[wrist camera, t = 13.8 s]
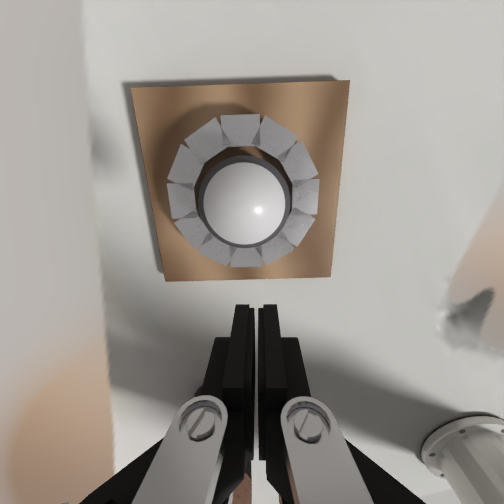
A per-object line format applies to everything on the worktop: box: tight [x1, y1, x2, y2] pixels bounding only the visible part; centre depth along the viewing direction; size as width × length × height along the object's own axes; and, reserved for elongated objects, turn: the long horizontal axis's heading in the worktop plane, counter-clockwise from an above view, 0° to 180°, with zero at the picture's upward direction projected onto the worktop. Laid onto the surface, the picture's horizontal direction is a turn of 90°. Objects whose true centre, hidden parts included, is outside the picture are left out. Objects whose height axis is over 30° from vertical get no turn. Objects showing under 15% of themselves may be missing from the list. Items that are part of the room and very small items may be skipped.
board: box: [131, 80, 350, 282], centre depth 21 cm, size 16×16×1 cm
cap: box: [198, 155, 290, 248], centre depth 18 cm, size 6×6×5 cm
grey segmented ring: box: [167, 114, 320, 267], centre depth 20 cm, size 12×12×2 cm
